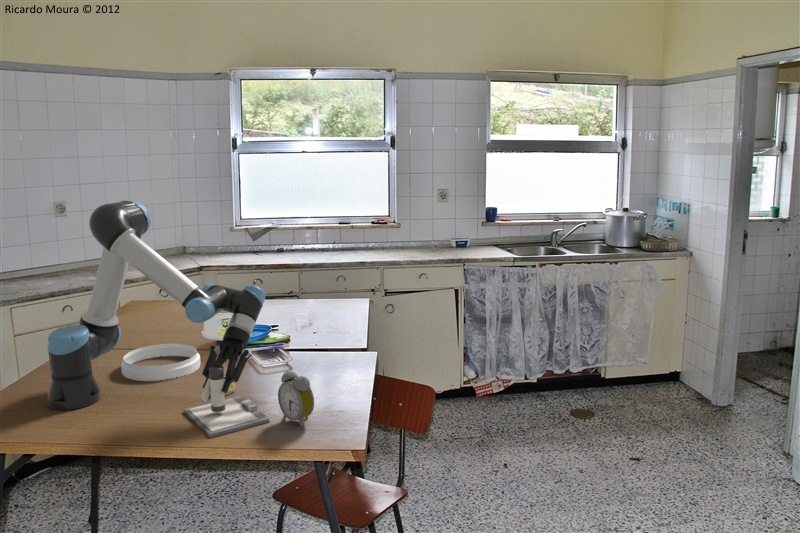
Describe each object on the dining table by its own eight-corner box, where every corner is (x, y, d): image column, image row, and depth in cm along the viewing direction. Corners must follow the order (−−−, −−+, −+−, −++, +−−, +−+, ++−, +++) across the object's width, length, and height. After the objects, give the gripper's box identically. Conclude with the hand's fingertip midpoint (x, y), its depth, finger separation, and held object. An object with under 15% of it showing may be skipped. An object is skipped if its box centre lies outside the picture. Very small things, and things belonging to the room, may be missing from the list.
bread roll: (202, 395, 214) (202, 384, 213) (219, 386, 222) (219, 375, 221) (223, 399, 211) (223, 387, 210) (240, 389, 219) (239, 378, 218)
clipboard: (183, 411, 200) (183, 404, 200) (239, 398, 211) (239, 391, 211) (210, 437, 183) (210, 429, 183) (269, 421, 194) (269, 414, 193)
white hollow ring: (149, 387, 221) (148, 372, 220) (107, 370, 237) (105, 356, 236) (215, 366, 242) (215, 352, 241) (172, 352, 258) (171, 338, 257)
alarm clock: (277, 419, 196) (276, 371, 193) (296, 412, 200) (295, 365, 197) (301, 431, 187) (299, 381, 185) (320, 424, 192) (319, 375, 189)
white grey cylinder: (208, 408, 197) (206, 367, 194) (222, 405, 199) (220, 364, 197) (214, 413, 194) (211, 371, 191) (227, 409, 196) (225, 368, 194)
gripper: (267, 339, 205) (240, 409, 192) (220, 334, 210) (191, 402, 198) (258, 328, 199) (229, 399, 186) (210, 322, 204) (179, 391, 192)
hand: (210, 400), depth 192 cm, fingers closed on white grey cylinder, 4 cm apart
